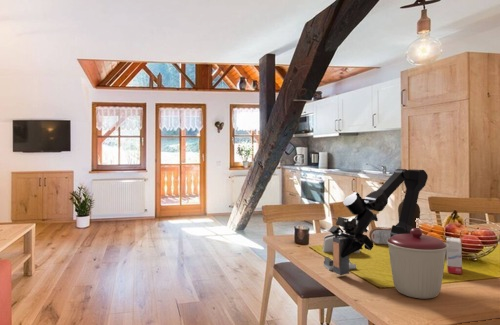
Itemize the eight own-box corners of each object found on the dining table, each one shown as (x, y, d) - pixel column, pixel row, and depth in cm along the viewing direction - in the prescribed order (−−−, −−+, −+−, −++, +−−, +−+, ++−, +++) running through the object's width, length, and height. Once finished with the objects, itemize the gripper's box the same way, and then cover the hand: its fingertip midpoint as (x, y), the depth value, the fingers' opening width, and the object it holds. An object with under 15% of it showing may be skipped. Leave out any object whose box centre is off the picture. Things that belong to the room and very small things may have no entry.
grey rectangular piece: (349, 263, 141) (349, 255, 140) (356, 268, 134) (355, 260, 134) (323, 265, 139) (323, 256, 139) (329, 270, 133) (329, 261, 133)
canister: (377, 283, 119) (376, 223, 119) (426, 281, 120) (426, 221, 120) (404, 306, 101) (403, 235, 101) (462, 303, 102) (462, 233, 102)
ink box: (462, 275, 126) (462, 243, 126) (446, 273, 128) (446, 241, 128) (461, 268, 133) (461, 238, 133) (446, 266, 136) (446, 236, 136)
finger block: (341, 270, 129) (341, 236, 128) (349, 273, 125) (348, 238, 125) (332, 272, 127) (332, 237, 127) (339, 275, 123) (339, 239, 123)
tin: (401, 244, 169) (401, 227, 169) (402, 246, 166) (402, 229, 166) (369, 243, 173) (369, 226, 173) (369, 244, 170) (369, 227, 170)
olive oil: (407, 241, 175) (406, 192, 174) (393, 236, 185) (393, 190, 185) (424, 239, 177) (424, 192, 177) (410, 235, 188) (410, 190, 187)
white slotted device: (358, 249, 161) (359, 231, 157) (359, 256, 156) (361, 237, 153) (322, 248, 163) (322, 231, 160) (322, 255, 159) (322, 236, 155)
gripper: (332, 205, 136) (310, 236, 131) (366, 212, 119) (342, 248, 114) (348, 223, 139) (327, 254, 135) (384, 232, 122) (360, 267, 118)
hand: (337, 255), depth 125 cm, fingers closed on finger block, 4 cm apart
